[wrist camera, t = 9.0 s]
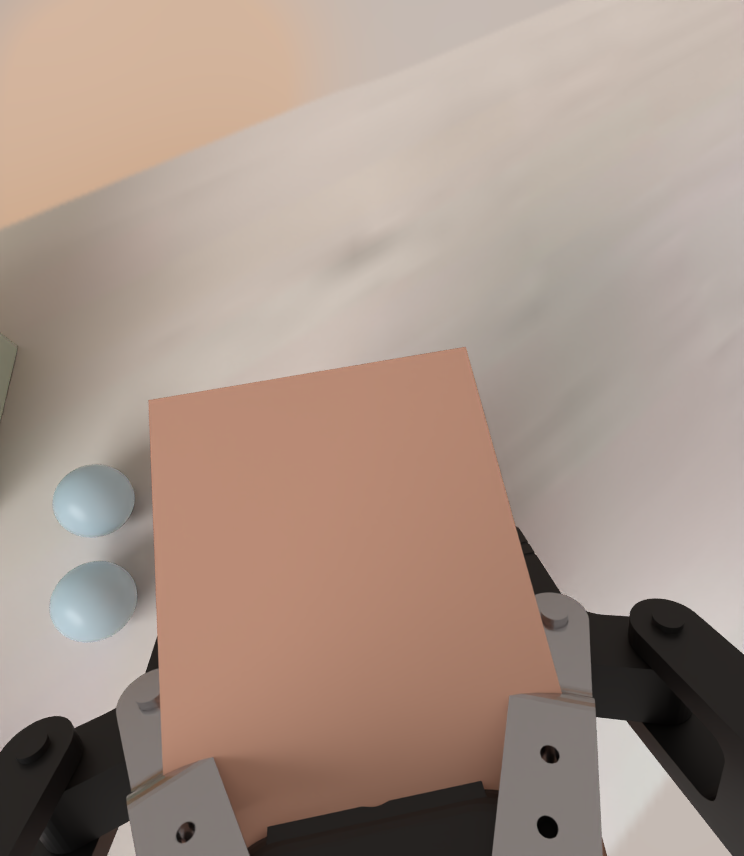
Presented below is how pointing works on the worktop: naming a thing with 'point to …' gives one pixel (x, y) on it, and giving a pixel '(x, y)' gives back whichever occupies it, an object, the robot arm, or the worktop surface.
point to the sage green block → (5, 367)
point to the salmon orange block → (338, 588)
